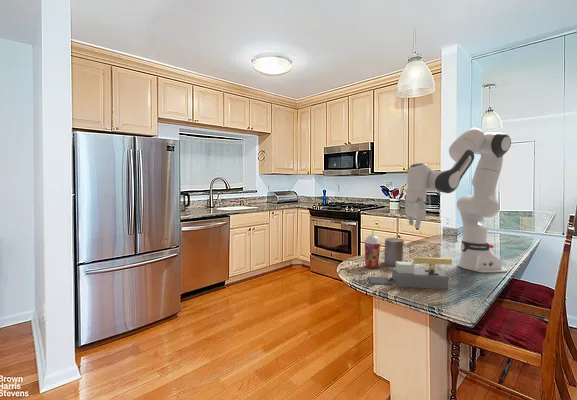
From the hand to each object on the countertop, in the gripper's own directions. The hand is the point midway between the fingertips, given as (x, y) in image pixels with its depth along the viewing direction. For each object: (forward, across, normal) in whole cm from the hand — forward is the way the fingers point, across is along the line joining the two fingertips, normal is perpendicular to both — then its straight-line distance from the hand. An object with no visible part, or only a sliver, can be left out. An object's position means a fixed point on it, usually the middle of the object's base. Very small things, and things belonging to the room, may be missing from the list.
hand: (413, 226), depth 144 cm
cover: (+20, -8, +5) cm, 22 cm away
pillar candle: (+25, +22, +3) cm, 34 cm away
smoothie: (+26, +14, +16) cm, 33 cm away
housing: (+25, -8, -2) cm, 26 cm away
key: (+20, -8, -7) cm, 22 cm away
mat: (+25, -8, +16) cm, 31 cm away
